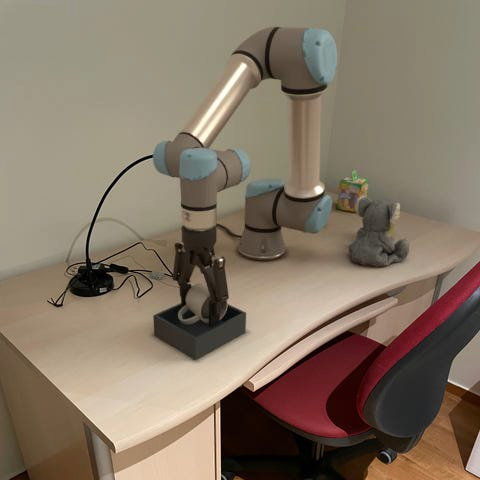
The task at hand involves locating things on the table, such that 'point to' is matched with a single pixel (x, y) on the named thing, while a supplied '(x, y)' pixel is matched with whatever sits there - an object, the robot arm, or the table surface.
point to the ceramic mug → (199, 305)
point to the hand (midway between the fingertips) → (200, 317)
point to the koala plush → (377, 234)
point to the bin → (198, 330)
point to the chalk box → (351, 192)
